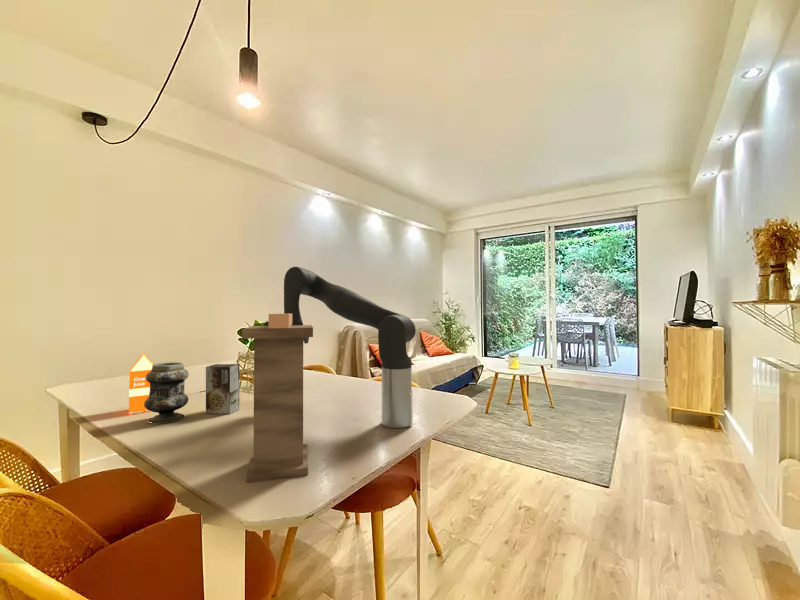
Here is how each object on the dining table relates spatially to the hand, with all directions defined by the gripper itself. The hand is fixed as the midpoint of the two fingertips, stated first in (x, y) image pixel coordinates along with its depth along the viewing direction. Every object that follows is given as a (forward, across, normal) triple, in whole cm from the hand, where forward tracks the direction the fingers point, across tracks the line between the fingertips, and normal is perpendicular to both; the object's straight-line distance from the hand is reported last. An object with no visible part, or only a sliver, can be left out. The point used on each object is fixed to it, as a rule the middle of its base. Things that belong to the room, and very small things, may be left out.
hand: (283, 323), depth 99 cm
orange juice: (-54, +50, -4) cm, 73 cm away
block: (+10, 0, -6) cm, 12 cm away
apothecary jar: (-40, +37, -12) cm, 56 cm away
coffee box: (-45, +22, -10) cm, 51 cm away
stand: (-1, 0, -36) cm, 36 cm away
